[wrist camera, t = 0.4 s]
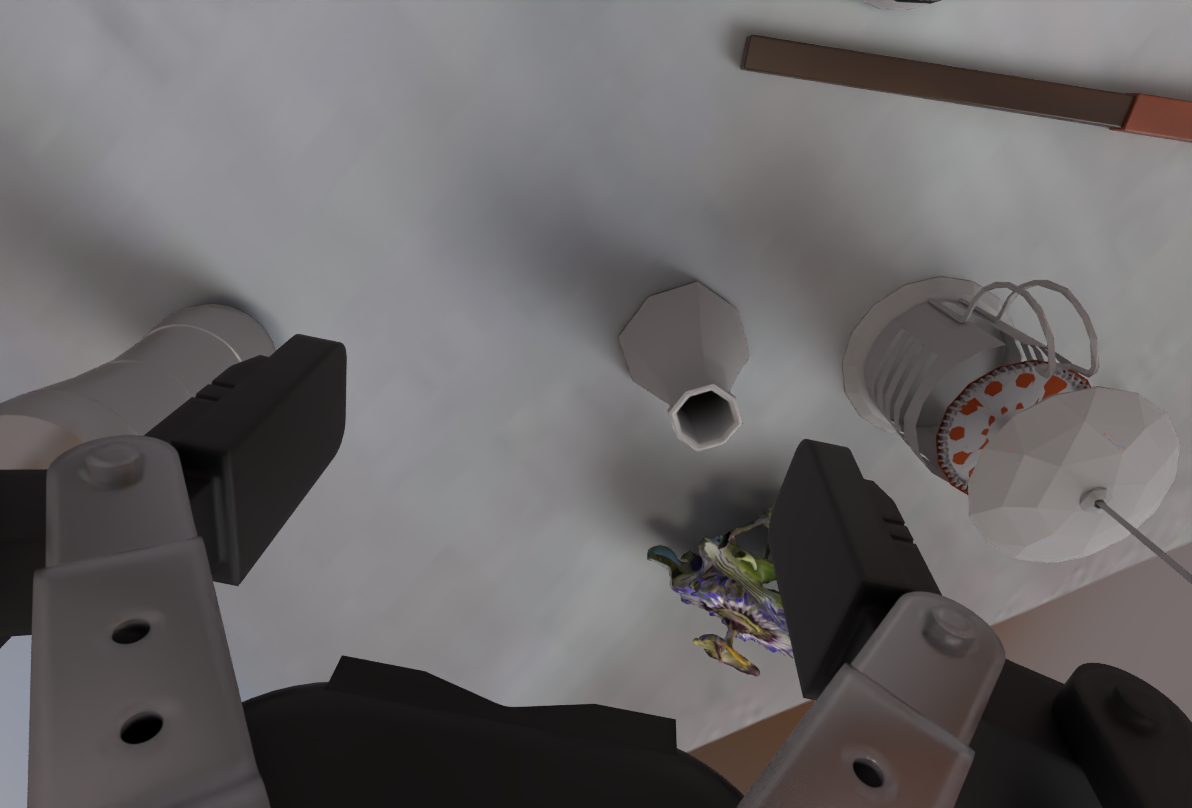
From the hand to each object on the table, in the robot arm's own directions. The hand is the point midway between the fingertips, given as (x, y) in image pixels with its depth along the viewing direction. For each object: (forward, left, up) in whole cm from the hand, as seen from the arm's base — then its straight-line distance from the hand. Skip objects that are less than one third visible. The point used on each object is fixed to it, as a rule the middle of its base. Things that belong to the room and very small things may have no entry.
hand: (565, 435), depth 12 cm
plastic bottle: (+11, -20, -27) cm, 36 cm away
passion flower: (+19, +13, -27) cm, 36 cm away
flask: (+7, +6, -27) cm, 29 cm away
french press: (+5, +20, -27) cm, 34 cm away
